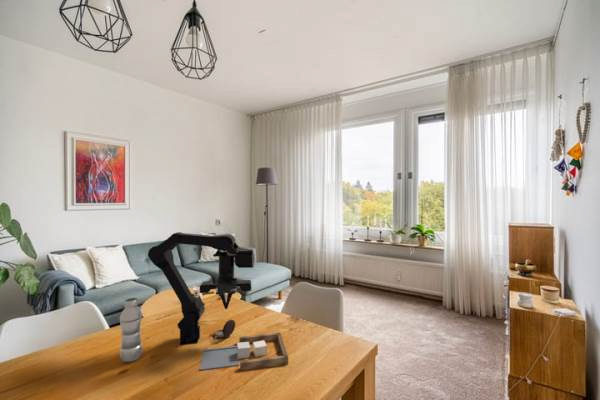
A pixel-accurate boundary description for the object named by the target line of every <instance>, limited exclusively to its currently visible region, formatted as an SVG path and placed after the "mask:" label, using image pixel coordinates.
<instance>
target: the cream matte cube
mask: <svg viewBox="0 0 600 400" xmlns="http://www.w3.org/2000/svg"><path fill="white" fill-rule="evenodd" d="M236 346H237V352H236V353H237V359H239V360H241V359H247V358H250V357H251V345H250V344H249V342H240V343H239V342H237V343H236Z"/></svg>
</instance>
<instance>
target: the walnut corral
mask: <svg viewBox="0 0 600 400" xmlns="http://www.w3.org/2000/svg"><path fill="white" fill-rule="evenodd" d="M238 338H239V340H238V343H240V342H249V345H250V344H253V342H257V341H263V340H264V341H265V343H267V342H275V341H276V342H277V343H278V346H279V350H280V354H281V355H279V356H277V355H276V356H270V357H260V358H253V359H244V360H239V370H240V371H244V370H245V371H246V370H254V369H261V368H262V369H263V368H269V367H276V366H277V367H278V366H285V365H289V355H288V351H287V349H286V346H285V343H284V340H283V336H282V334H281V332H274V333H265V334H264V333H263V334H254V335H244V336H239V337H238Z"/></svg>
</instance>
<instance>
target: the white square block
mask: <svg viewBox="0 0 600 400" xmlns="http://www.w3.org/2000/svg"><path fill="white" fill-rule="evenodd" d="M252 352H253V355H254V357H255V358H258V357H262V356H267V355H268V345H267V342H265V341H264V340H263V341H257V342H253V343H252Z"/></svg>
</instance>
